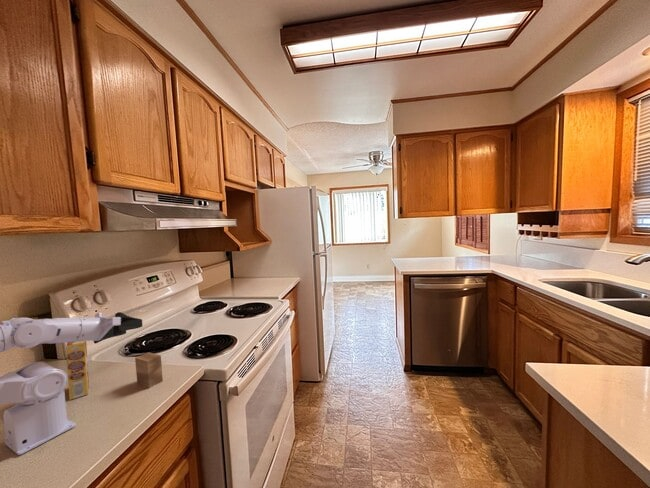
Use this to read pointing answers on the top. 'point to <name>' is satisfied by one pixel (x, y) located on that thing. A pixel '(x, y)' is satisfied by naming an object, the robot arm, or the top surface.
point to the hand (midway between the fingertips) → (133, 326)
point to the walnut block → (149, 369)
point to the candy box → (77, 369)
